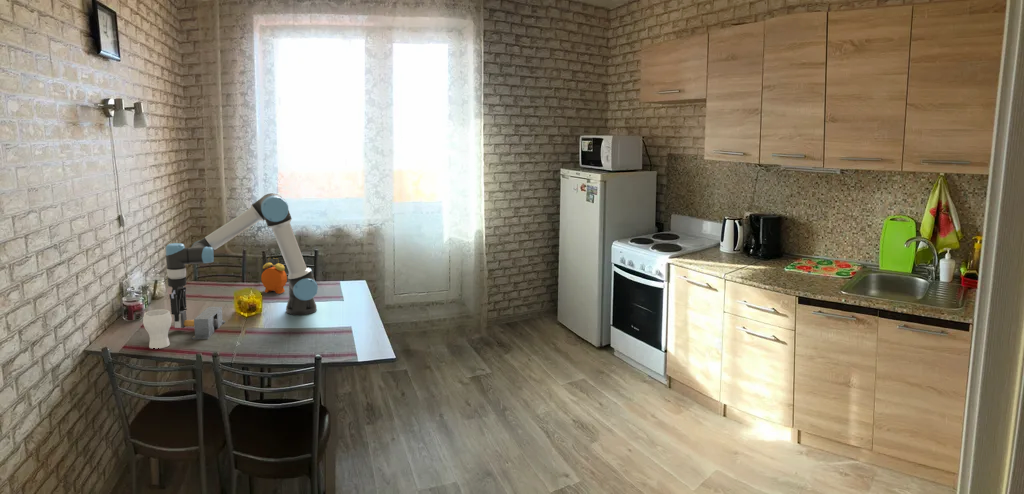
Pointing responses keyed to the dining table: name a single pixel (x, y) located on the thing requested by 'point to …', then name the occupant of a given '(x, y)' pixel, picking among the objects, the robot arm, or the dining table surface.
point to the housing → (207, 322)
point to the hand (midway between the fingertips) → (180, 325)
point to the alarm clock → (274, 277)
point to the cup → (158, 327)
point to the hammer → (190, 321)
